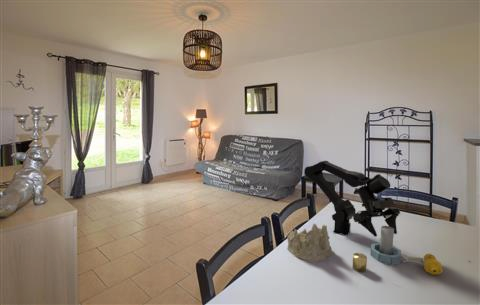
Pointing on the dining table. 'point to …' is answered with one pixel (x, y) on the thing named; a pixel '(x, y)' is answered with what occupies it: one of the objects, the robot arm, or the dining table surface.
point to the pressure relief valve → (427, 263)
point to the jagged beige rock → (310, 244)
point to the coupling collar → (386, 258)
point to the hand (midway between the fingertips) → (386, 235)
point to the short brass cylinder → (359, 262)
